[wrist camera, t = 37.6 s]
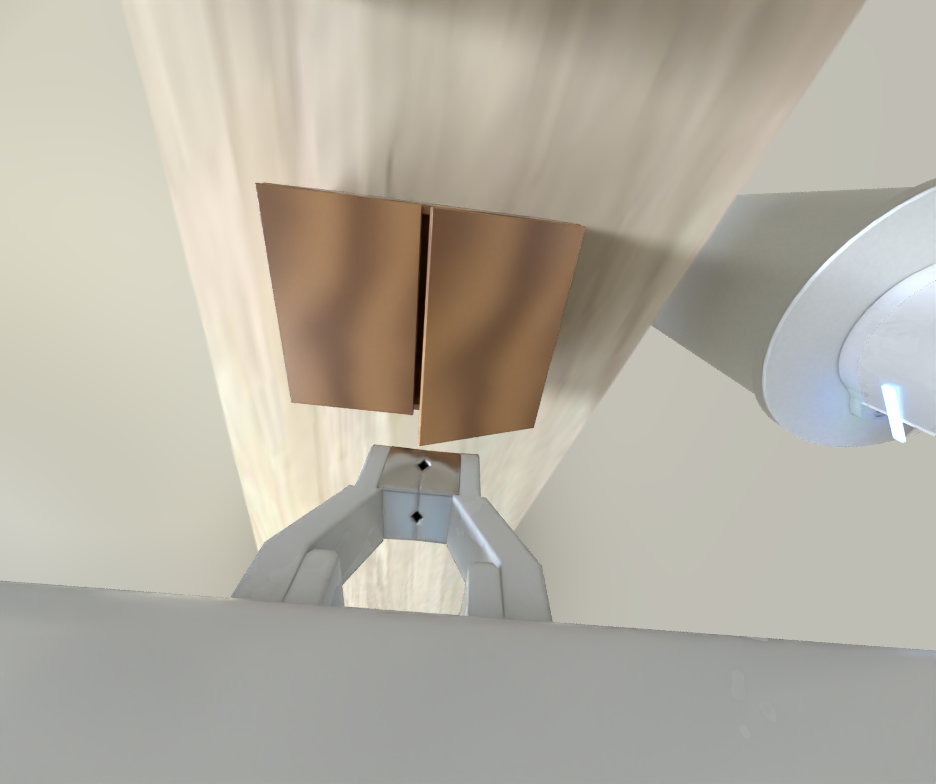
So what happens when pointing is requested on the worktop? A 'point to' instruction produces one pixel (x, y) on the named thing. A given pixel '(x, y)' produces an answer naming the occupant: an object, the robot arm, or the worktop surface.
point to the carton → (350, 293)
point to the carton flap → (490, 320)
